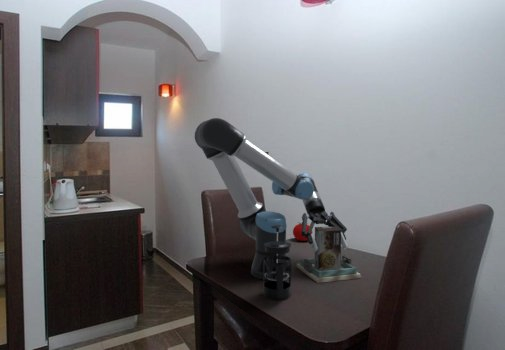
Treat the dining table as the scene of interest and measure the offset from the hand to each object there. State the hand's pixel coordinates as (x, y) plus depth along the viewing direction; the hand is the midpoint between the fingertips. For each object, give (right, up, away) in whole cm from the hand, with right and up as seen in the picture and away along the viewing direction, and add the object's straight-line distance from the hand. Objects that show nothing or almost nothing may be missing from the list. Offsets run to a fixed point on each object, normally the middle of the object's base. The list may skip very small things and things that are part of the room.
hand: (331, 249), depth 135 cm
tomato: (-3, -7, +54) cm, 55 cm away
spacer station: (-1, -10, +3) cm, 10 cm away
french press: (-22, -11, -19) cm, 31 cm away
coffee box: (-1, -8, +3) cm, 9 cm away
